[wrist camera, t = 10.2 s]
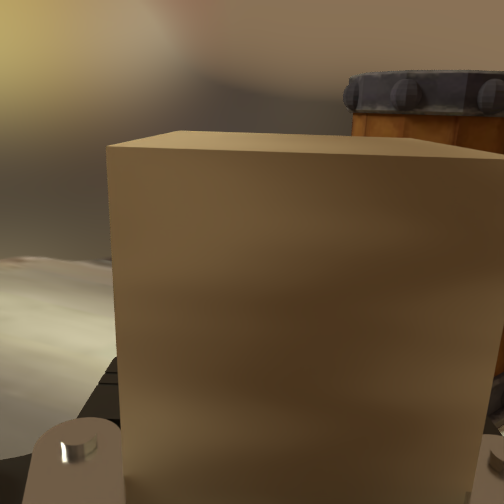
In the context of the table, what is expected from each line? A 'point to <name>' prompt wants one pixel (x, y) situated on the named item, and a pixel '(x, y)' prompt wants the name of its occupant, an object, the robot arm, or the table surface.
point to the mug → (435, 129)
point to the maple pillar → (304, 316)
